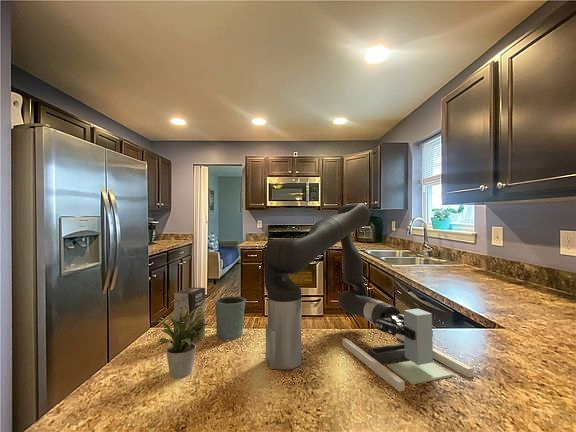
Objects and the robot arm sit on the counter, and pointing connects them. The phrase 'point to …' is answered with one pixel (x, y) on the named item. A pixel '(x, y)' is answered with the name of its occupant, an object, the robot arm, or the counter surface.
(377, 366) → the lane rails
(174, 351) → the house plant
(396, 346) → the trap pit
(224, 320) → the teal cup
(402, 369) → the pad
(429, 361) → the grey tall block
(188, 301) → the coffee box
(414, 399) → the counter surface
